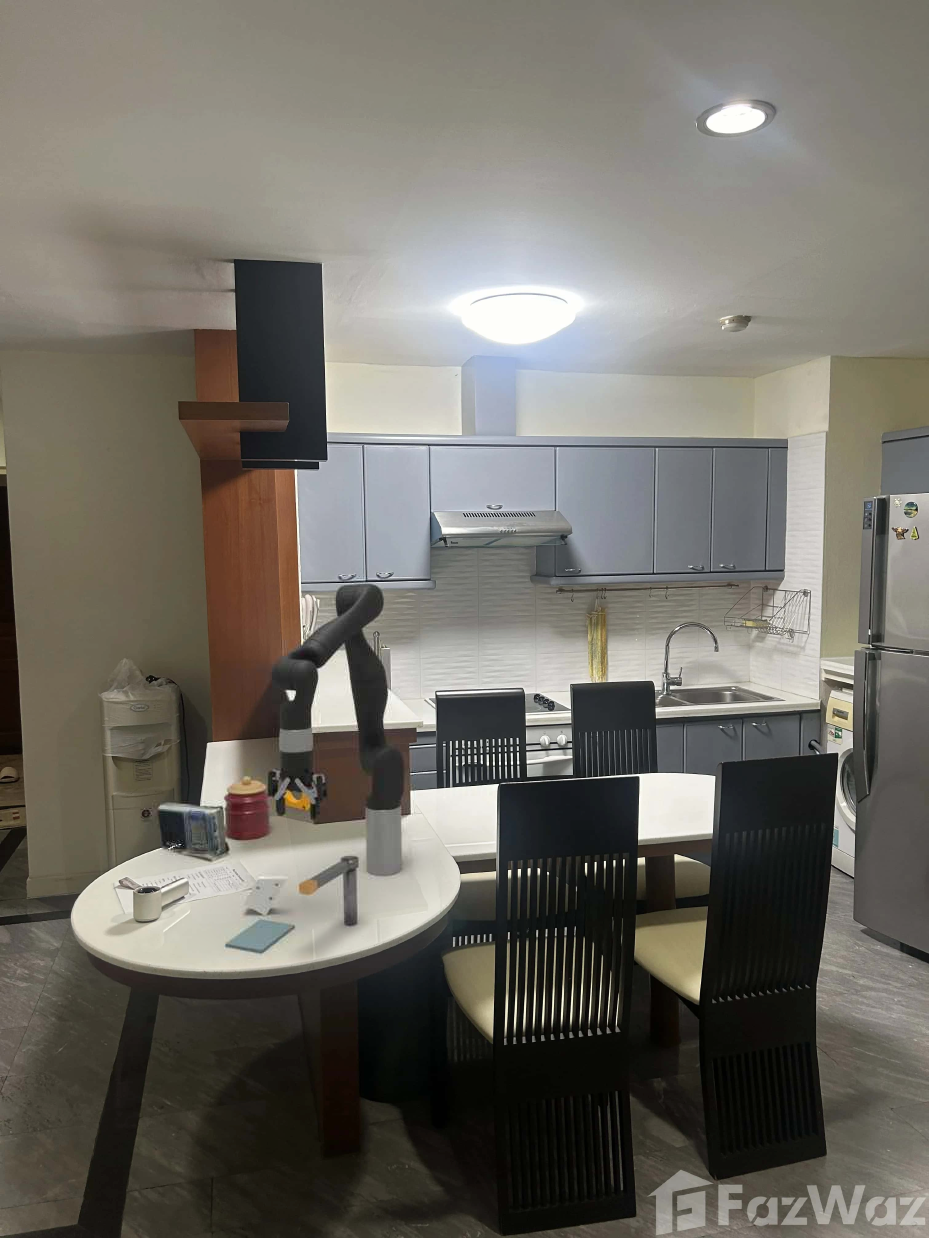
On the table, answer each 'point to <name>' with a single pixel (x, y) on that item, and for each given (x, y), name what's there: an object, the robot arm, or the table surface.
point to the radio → (193, 830)
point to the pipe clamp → (297, 801)
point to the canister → (247, 810)
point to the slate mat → (260, 936)
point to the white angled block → (265, 893)
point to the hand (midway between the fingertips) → (298, 817)
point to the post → (350, 897)
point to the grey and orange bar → (328, 875)
